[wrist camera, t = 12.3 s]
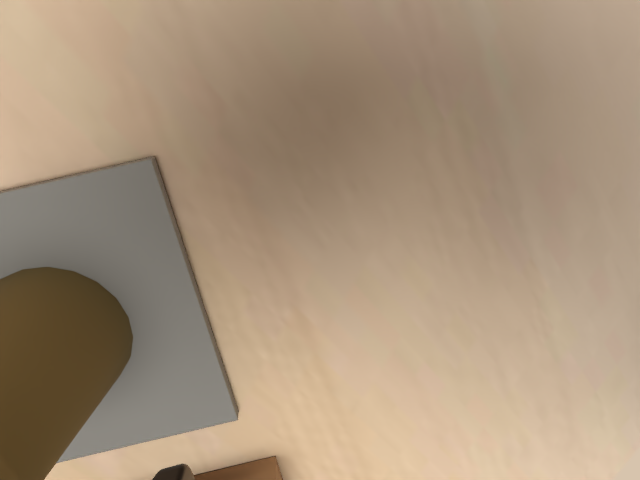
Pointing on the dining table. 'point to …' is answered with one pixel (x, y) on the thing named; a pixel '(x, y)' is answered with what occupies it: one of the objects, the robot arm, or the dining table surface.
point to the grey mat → (126, 297)
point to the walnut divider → (246, 471)
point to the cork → (54, 363)
